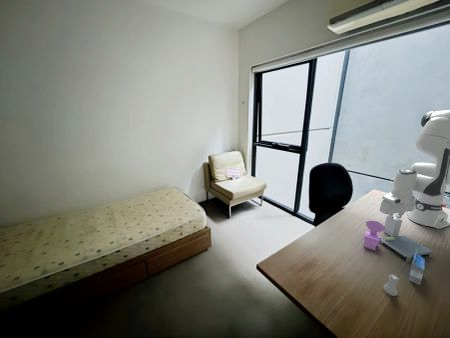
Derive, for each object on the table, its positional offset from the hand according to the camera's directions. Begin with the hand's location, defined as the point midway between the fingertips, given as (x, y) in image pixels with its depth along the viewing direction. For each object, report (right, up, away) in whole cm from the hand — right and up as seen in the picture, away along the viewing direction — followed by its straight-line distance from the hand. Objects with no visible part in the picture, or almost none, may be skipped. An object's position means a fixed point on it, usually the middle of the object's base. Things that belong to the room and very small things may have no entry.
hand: (394, 218), depth 110 cm
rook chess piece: (-31, -23, -32) cm, 50 cm away
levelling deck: (-3, -13, -10) cm, 16 cm away
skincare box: (0, -12, +3) cm, 12 cm away
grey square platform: (-3, -15, -9) cm, 18 cm away
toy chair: (-19, -15, -5) cm, 24 cm away
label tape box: (-14, -20, -25) cm, 35 cm away
